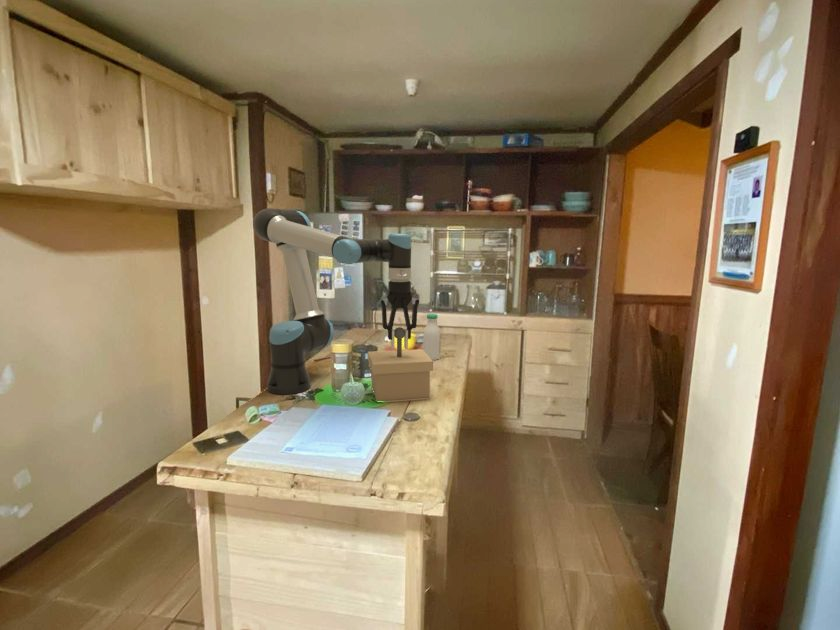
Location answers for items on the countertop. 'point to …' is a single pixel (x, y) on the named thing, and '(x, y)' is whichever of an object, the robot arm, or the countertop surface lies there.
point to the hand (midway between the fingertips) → (399, 348)
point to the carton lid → (399, 359)
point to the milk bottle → (432, 337)
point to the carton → (401, 386)
